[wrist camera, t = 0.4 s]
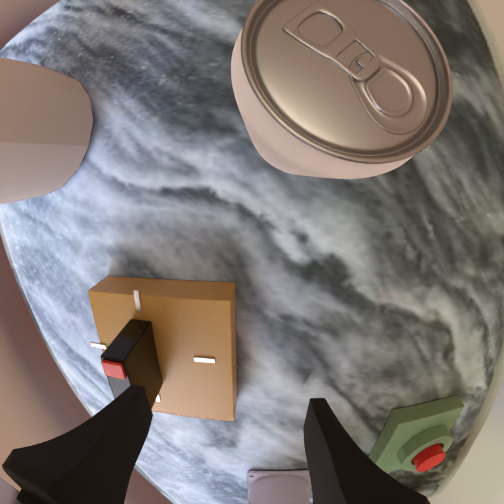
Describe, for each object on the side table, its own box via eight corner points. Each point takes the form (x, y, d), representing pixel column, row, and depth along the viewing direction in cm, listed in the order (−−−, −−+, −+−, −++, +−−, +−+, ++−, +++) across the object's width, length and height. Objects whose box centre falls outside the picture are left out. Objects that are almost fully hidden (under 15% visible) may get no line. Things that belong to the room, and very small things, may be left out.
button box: (422, 450, 26) (431, 470, 22) (364, 463, 26) (370, 487, 22) (456, 394, 23) (471, 416, 19) (392, 409, 23) (404, 436, 19)
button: (432, 456, 21) (437, 466, 20) (407, 464, 21) (412, 475, 20) (445, 439, 20) (450, 449, 19) (420, 447, 20) (425, 458, 19)
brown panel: (237, 396, 23) (234, 422, 20) (124, 382, 23) (111, 403, 20) (235, 277, 20) (230, 296, 17) (98, 270, 20) (76, 285, 17)
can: (303, 195, 18) (371, 240, 6) (227, 128, 17) (164, 61, 5) (367, 127, 16) (492, 86, 5) (294, 61, 15) (329, -60, 4)
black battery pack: (163, 383, 19) (144, 428, 14) (144, 380, 19) (122, 423, 14) (152, 320, 17) (122, 363, 13) (130, 318, 17) (97, 358, 13)
